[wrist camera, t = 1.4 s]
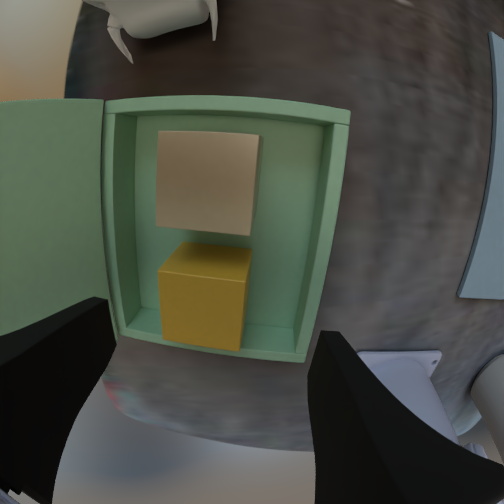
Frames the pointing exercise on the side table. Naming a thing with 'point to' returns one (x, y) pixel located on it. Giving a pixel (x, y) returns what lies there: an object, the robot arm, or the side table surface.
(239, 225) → the birch block
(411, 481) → the robot arm
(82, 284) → the lunchbox lid
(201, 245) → the mustard block
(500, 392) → the beverage can
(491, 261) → the placemat
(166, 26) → the elephant figurine
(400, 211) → the side table surface
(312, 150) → the box
